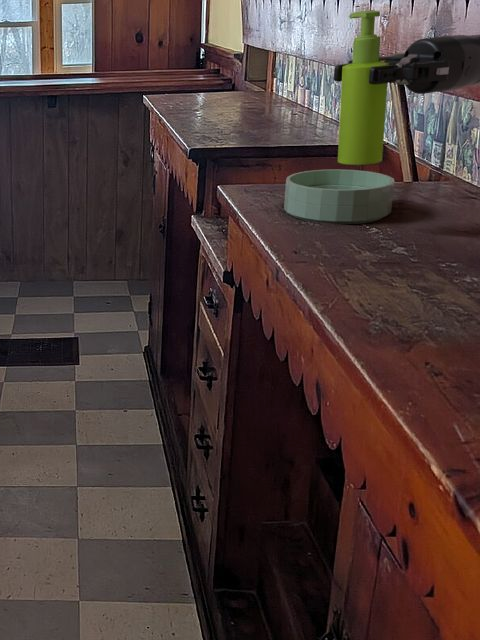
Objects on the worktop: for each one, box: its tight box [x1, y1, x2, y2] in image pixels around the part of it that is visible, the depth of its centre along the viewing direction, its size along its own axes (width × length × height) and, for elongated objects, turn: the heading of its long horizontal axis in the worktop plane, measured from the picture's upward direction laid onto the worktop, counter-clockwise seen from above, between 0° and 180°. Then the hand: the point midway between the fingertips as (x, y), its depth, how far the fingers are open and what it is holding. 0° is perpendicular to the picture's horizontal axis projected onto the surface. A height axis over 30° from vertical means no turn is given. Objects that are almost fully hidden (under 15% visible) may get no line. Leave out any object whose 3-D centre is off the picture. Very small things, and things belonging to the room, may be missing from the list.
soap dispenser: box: [337, 9, 389, 166], centre depth 120 cm, size 6×7×20 cm
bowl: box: [283, 168, 396, 225], centre depth 140 cm, size 16×16×6 cm
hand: (353, 74), depth 118 cm, fingers closed on soap dispenser, 6 cm apart
